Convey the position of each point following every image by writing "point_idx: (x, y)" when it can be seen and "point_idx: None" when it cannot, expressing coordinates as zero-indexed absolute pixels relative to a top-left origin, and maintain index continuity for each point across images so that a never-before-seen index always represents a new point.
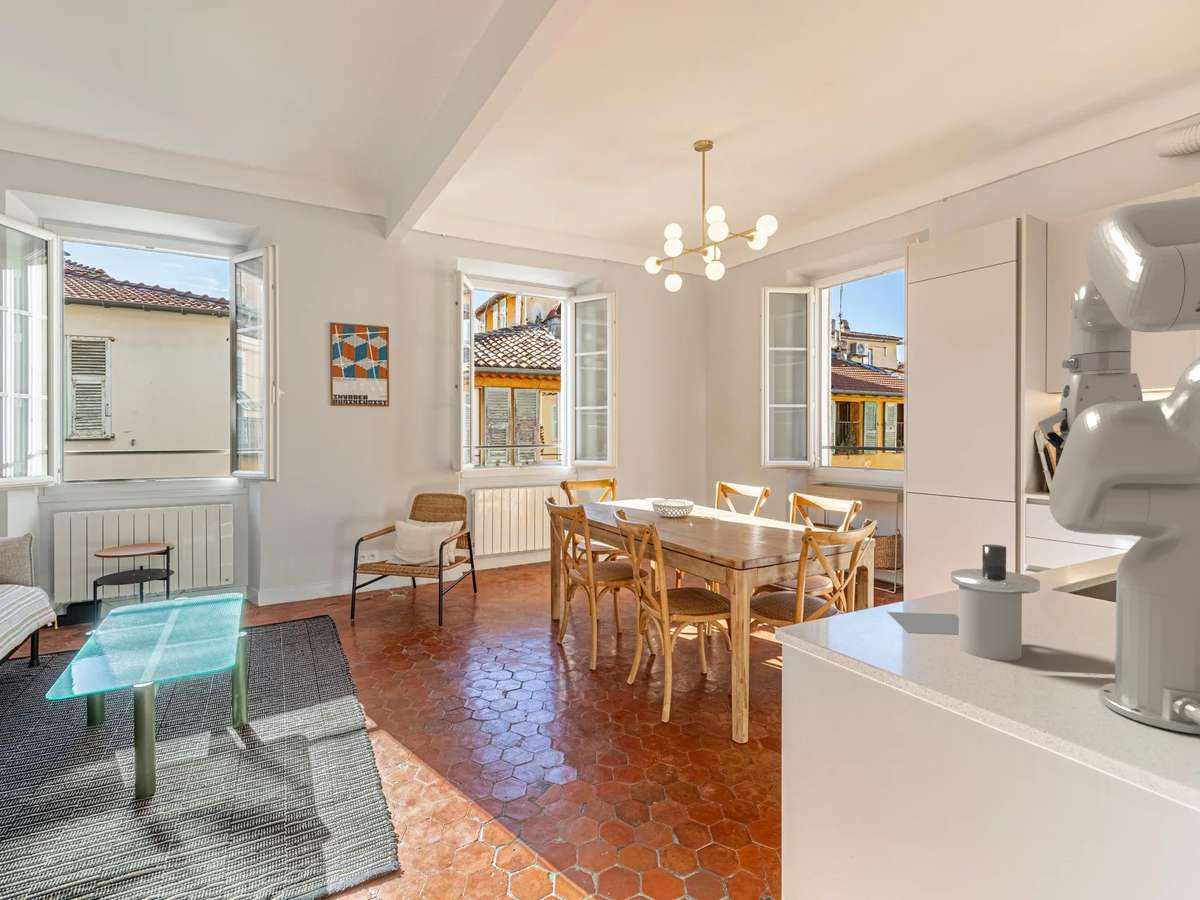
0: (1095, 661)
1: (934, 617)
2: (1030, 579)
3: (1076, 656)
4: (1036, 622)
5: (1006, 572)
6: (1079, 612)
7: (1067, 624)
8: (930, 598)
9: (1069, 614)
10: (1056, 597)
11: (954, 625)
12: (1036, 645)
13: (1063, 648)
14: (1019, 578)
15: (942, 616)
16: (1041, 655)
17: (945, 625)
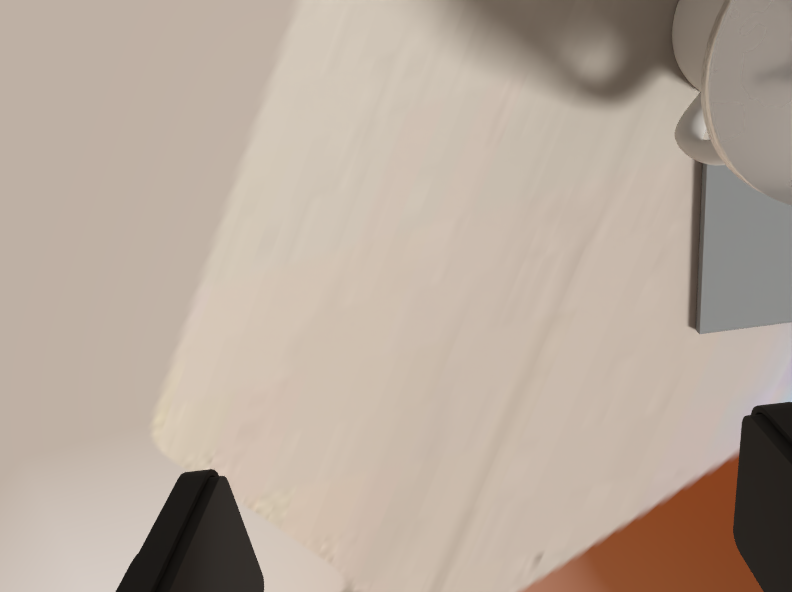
0: (487, 39)
1: (772, 290)
2: (742, 58)
3: (518, 69)
4: (499, 337)
5: (771, 169)
6: (364, 440)
7: (430, 338)
8: (685, 478)
9: (393, 419)
10: (370, 544)
11: (749, 229)
12: (582, 138)
13: (523, 131)
14: (778, 65)
15: (744, 305)
16: (607, 50)
17: (775, 223)
